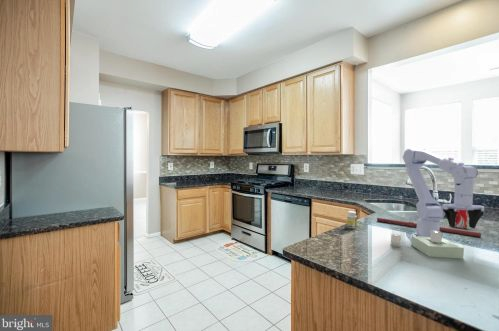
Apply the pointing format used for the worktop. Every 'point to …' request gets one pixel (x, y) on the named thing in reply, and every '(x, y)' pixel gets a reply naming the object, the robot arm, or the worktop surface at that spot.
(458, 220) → the soda can
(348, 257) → the worktop surface
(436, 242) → the long pin
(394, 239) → the short pin
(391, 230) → the worktop surface
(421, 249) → the hole block
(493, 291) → the worktop surface
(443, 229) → the rolling pin
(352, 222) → the supplement bottle
